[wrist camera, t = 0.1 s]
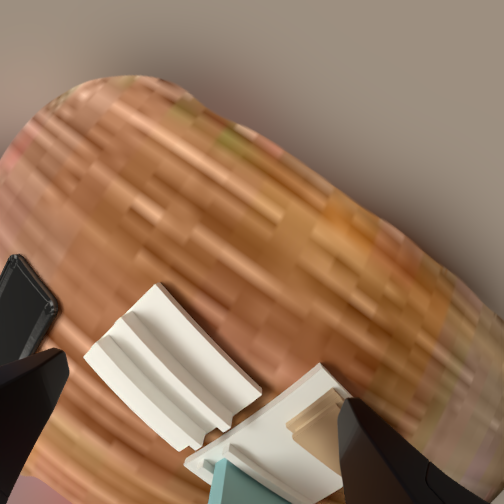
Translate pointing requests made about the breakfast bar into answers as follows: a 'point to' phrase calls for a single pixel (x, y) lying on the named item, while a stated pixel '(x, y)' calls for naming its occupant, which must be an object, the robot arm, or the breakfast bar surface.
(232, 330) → the breakfast bar surface
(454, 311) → the breakfast bar surface
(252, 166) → the breakfast bar surface
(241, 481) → the teal rectangular slab
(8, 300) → the phone
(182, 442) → the storage stand
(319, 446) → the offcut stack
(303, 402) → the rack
